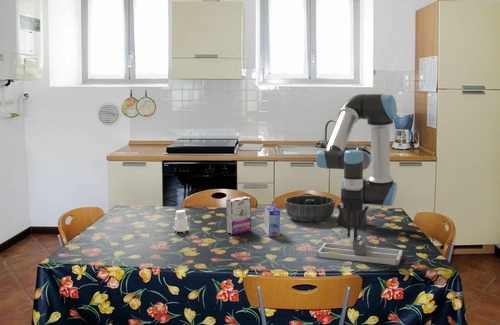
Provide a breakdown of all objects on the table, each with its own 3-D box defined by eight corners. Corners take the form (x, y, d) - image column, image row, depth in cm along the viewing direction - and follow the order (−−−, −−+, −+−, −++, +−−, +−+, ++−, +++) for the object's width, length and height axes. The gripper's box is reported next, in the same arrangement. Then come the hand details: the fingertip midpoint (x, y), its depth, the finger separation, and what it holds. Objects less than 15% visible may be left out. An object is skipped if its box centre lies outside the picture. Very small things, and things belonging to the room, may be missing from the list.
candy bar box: (245, 229, 275) (245, 195, 273) (251, 231, 271) (251, 197, 269) (226, 233, 269) (225, 199, 266) (232, 235, 265) (231, 200, 262)
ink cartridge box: (280, 236, 262) (280, 205, 260) (268, 237, 261) (268, 206, 259) (275, 230, 272) (275, 201, 269) (264, 231, 271) (263, 201, 268)
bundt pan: (277, 214, 303) (277, 196, 302) (322, 210, 311) (322, 193, 309) (295, 227, 278) (295, 207, 277) (344, 222, 286) (344, 203, 284)
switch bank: (324, 249, 241) (324, 241, 240) (402, 257, 229) (402, 249, 229) (316, 259, 228) (316, 251, 227) (398, 268, 217) (398, 259, 216)
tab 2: (356, 256, 228) (356, 239, 227) (366, 257, 226) (366, 240, 225) (354, 259, 224) (354, 242, 223) (364, 260, 222) (365, 243, 221)
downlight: (191, 229, 276) (190, 209, 275) (188, 233, 269) (187, 212, 268) (175, 229, 277) (173, 209, 276) (172, 233, 270) (170, 213, 269)
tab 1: (355, 250, 235) (355, 235, 234) (364, 251, 233) (365, 235, 232) (353, 254, 230) (353, 237, 229) (362, 255, 229) (363, 238, 228)
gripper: (335, 189, 228) (334, 246, 231) (367, 191, 223) (366, 249, 227) (339, 185, 235) (338, 241, 238) (371, 187, 230) (369, 244, 233)
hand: (352, 245), depth 232 cm, fingers closed
